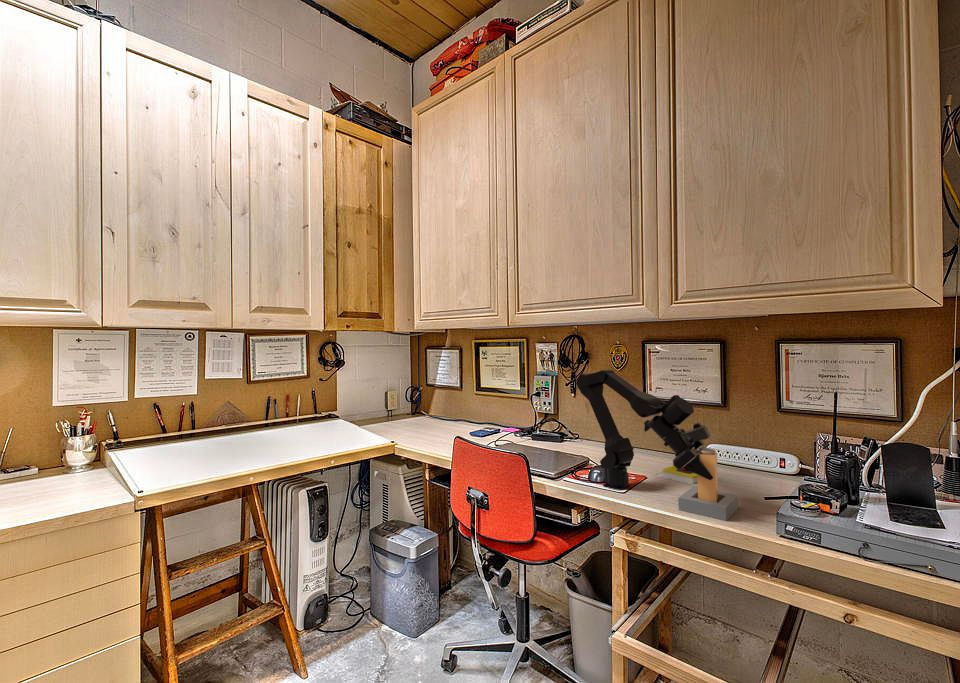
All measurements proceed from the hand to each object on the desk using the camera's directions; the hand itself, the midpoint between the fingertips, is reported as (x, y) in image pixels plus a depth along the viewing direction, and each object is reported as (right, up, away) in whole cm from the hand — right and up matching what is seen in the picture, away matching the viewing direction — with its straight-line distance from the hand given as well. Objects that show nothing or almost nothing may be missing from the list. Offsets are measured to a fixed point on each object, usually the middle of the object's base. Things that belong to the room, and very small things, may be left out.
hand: (713, 476), depth 125 cm
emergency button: (+5, -10, +29) cm, 31 cm away
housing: (-1, -9, +1) cm, 9 cm away
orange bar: (-1, -7, +1) cm, 7 cm away
